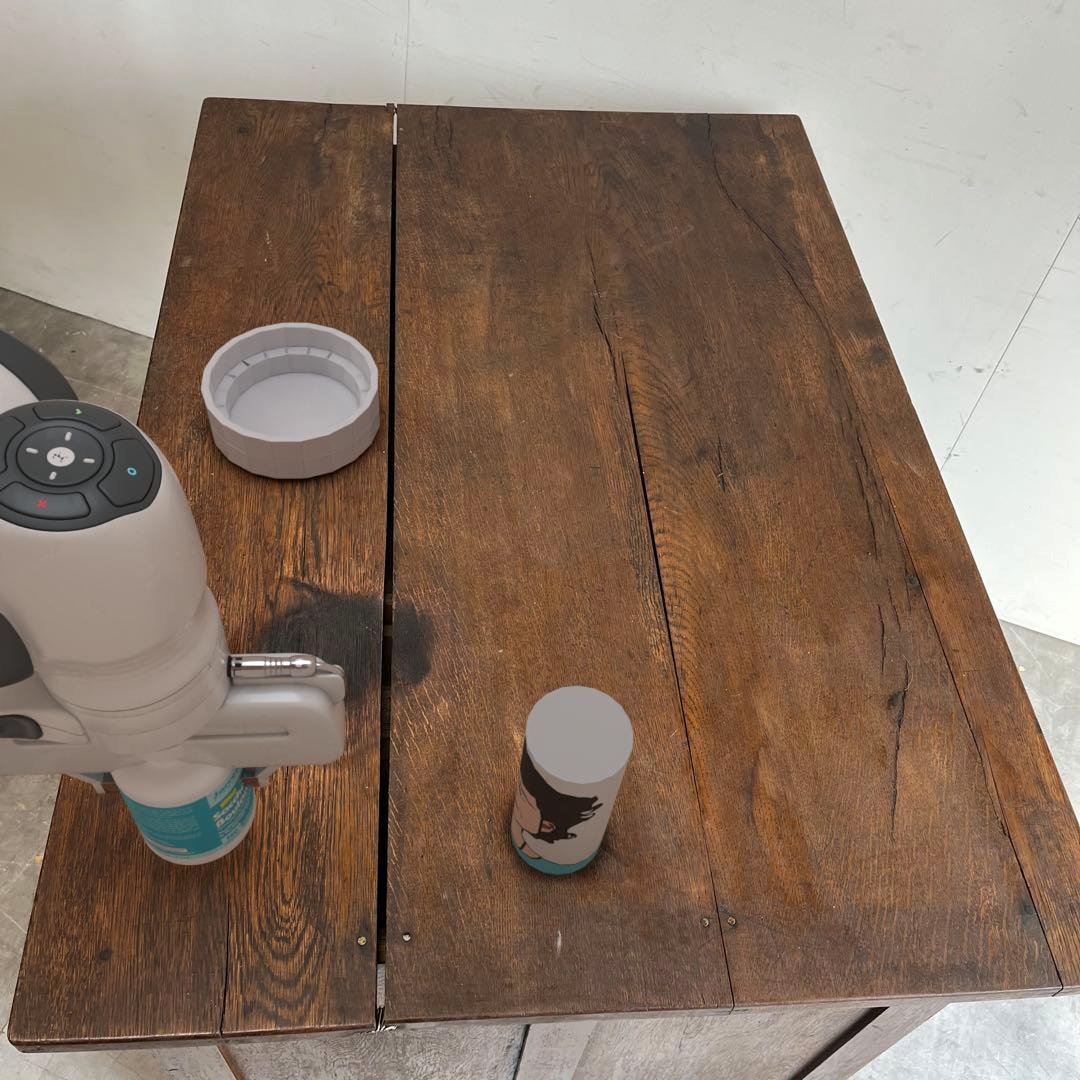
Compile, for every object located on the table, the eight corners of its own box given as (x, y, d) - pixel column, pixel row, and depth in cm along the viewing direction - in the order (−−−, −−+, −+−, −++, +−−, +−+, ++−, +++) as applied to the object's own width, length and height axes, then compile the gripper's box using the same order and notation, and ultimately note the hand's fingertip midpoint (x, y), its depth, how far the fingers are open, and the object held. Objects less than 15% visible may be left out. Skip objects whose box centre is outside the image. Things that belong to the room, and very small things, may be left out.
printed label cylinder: (565, 770, 78) (588, 668, 67) (620, 840, 75) (655, 746, 64) (492, 818, 76) (504, 719, 64) (547, 893, 72) (569, 804, 61)
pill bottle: (251, 868, 67) (220, 777, 56) (132, 870, 66) (78, 778, 55) (263, 762, 71) (237, 659, 61) (153, 763, 70) (106, 658, 60)
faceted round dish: (202, 484, 93) (191, 442, 89) (220, 365, 103) (211, 321, 98) (379, 482, 95) (377, 441, 90) (380, 365, 104) (378, 323, 100)
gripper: (345, 609, 57) (355, 728, 67) (-51, 616, 54) (25, 738, 65) (342, 711, 53) (353, 820, 64) (-85, 724, 50) (2, 835, 61)
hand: (185, 779), depth 64 cm, fingers closed on pill bottle, 7 cm apart
